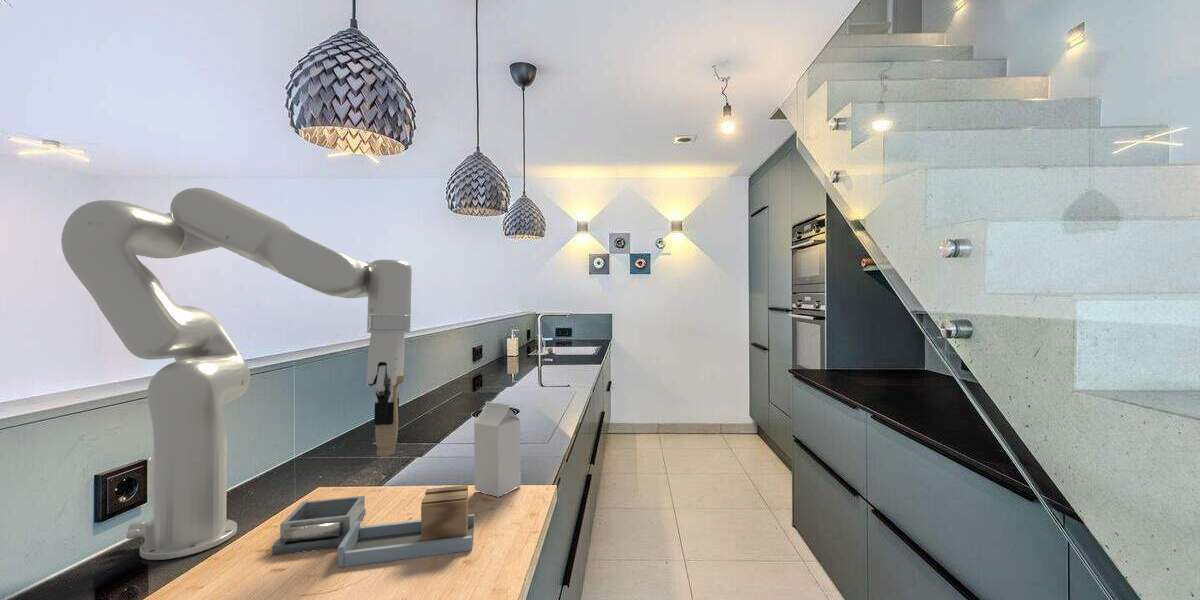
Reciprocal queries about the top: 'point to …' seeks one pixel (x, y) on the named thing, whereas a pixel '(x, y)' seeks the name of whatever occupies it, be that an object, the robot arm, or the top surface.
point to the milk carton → (497, 450)
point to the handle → (388, 426)
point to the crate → (444, 513)
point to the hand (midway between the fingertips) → (386, 420)
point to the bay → (396, 543)
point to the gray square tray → (319, 524)
